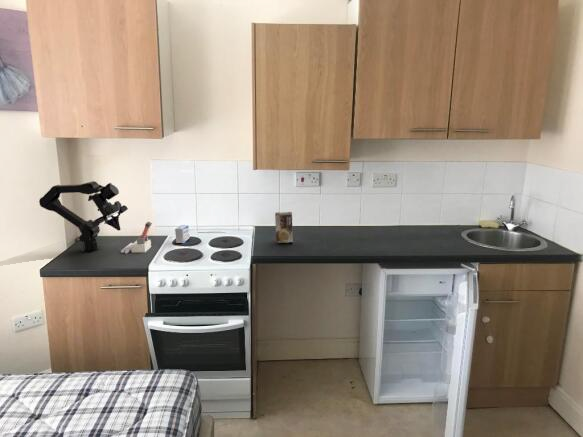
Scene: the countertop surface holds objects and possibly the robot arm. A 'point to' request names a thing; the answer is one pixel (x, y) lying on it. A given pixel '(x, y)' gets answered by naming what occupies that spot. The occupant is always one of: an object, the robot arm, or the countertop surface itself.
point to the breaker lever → (146, 230)
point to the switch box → (141, 244)
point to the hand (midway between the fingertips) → (119, 230)
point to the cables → (126, 249)
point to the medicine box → (182, 234)
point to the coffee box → (284, 227)
